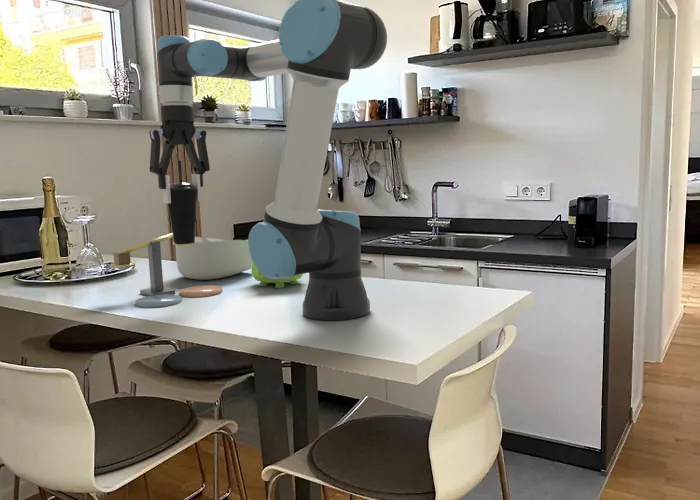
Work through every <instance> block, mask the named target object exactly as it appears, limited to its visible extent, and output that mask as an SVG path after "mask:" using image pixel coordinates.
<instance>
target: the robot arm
mask: <svg viewBox="0 0 700 500" xmlns="http://www.w3.org/2000/svg"><path fill="white" fill-rule="evenodd" d="M156 43H157V52H156V56H157V68H158V83H159V100H160V104H162V106H161V107H160V118H161V127H160V128H159V129H152V130H149V133H148V134H149V136H150V141H151V142H150V154H149V173H152V174H155V175H157V179H158V180H157V181H158V188H159V190H162V203H163V204H168V203H171V194H170V185H171V180H170V179H171V177H170V175H167V172H168V169H169V166H170V162H171V158H172V155H173V152H174V149H175V148H176V146H177V145H178V146H179V145H180V146H182V147H183V148H184V150H185V152H186V155H187V158H188V159H189V162H190V164H191V167H192V169H193V172H194V173H191V184H193V185H194V186H197V189H196V202H201V201H202V195H201V193H202V192H201V188H203V186H204V174H205V173H206V172H209V171H210V170H211V167H210V160H209V156H208V150H207V142H206V139H207V130H205V129H204V130H201V129H200V130H199V129H196V127H195V111H194V109H195V108H194V107H193V104H194V94H193V93H194V92H193V78H196V77H206V78H207V77H209V78H217V79H218V78H220V79H234V80H242V81H248V82H261V81H265V80H266V78H267V77H271V76H272V77H273V76H278V75H285V74H286V75H287V74H290V76H291V77H292V80H293V82H292V87H291V88H292V89H291V95H290V101H289V107H288V113H287V120H286V125H285V126H286V127H285V133H284V140H283V145H282V151H281V158H280V164H279V168H278V169H279V171H278V177H277V182H276V183H277V184H276V188H275V196H274V201H272V202H271V203H269V204H268V205H266V206H265V209H264V215H263V221H260V222H258V223H256V224H254V226H253V227H252V228H251V229H250V231H249V234H248V239H247V240H248V246H249V252H250V255H251V258H252V260H253V262H254V264H255V266H256V267H257V269H258V270H259V271H260V272H261V273H262V274H263V275H265V276H267V277H269V278H272V279H279V278H291V277H292V276H295V275H300V274H303V275H304V274H308V275H309V278H308V283H307V287H306V292H305V294H304V296H305V297H304V300H303V301H302V315H303V316H304V317H306V318H309V319H313V320H320V321H345V320H353V319H358V318H361V317H365V316H367V315H368V314H369V313H371V312H370V311H371V303H370V302H371V301H370V299H369V297H368V295H367V290H366V287H365V285H364V282H363V278H362V257H361V256H362V255H361V254H362V252H361V251H362V248H361V247H362V245H361V231H362V229H361V225H360V224H361V223H360V217H359V215H358V214H357V213H356V212H354V211H348V210H330V209H318V203H319V198H320V193H321V187H322V184H323V183H322V181H323V177H324V176H323V175H324V172H325V166H326V162H327V153H328V150H329V144H330V138H331V132H332V128H333V122H334V116H335V111H336V110H335V109H336V106H337V101H338V95H339V90H340V88H341V87H343V86H344V85H345V84H346V83H348V82H349V80H350V76H351V75H350V74H351V70H363V69H367V68H371V67H372V66H374V65H375V64H377V63H378V61H379V60H380V59H381V58H382V57H383V55H384V53H385V50H386V48H387V43H388V33H387V28H386V25H385V23H384V21H383V19H382V18H381V17H380V16H379V14H378V13H377V12H376V11H375V10H372V9H371V8H369V7H366V6H363V5H357V4H354V3H350V2H346V1H343V0H295V1H294V2H293V4H291V5H289V7H288V8H287V10H286V11H285V12H284V14H283V16H282V19H281V21H280V25H279V31H278V39H274V40H269V41H265V42H260V43H257V44H251V45H246V46H237V45H231V44H225V43H224V44H223V43H221V42H220V41H218V40H217V39H214V38H207V39H206V38H200V39H198V40H195V41H191V40H190V39H189V38H188V37H186V36H183V35H173V34H172V35H170V34H169V35H162V36H160V37H159V38H158V39H157V42H156ZM162 135H163V136H162ZM162 137H164V138H165V142H164V145H163V152H162V154H161V145H162V143H161V142H162V140H161V139H162ZM193 138H195V139H196V147H197V152H196V148H195V143H194V141H193ZM160 155H161V156H160Z"/></svg>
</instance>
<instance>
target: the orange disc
mask: <svg viewBox="0 0 700 500" xmlns="http://www.w3.org/2000/svg"><path fill="white" fill-rule="evenodd" d="M221 293H223V287H222V286H220V285H219V286H218V285H212V284H211V285H207V284H206V285H194V286H190V287H189V286H188V287H184V288H182V289H180V290H179V296H181V297H185V298H186V297H187V298H205V297H209V296H210V297H211V296H216V295H219V294H221Z"/></svg>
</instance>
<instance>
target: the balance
mask: <svg viewBox="0 0 700 500" xmlns="http://www.w3.org/2000/svg"><path fill="white" fill-rule="evenodd" d="M169 239H174V238H173V232H171V233H169V234H166V235H162V236H159V237H156V238H153V239H151V240H148V241H145V242H142V243H140V244H139V243H138V244H137V245H133V246H130V247H128V248H125V249H121V250H120V251H115V252H114V251H113V263H111V264H110V265H109V267H110V269H125V268H126V269H127V268H132V267H133V268H134V267H135V266H136V262H134V261H131V253H132V252H135V251H138V250H141V249H143V248H146V247H147V254H148V267H149V270H148V271H149V280H150V281H149V282H150V287H149V288H145V289H140V290H139V293H140V294H141V295H144V296H145V297H147V296H153V295H164V294H172V295H176V290H174V289H171V288H168V287H164V278H163V264H162V263H163V261H162V251H161V250H162V248H161V242H164V241H167V240H169ZM195 243H196V241H195V242H194V243H190V244H195ZM190 244H175V243H174V241H173V242H172V245H173V246H175V245H190Z"/></svg>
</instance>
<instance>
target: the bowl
mask: <svg viewBox="0 0 700 500" xmlns="http://www.w3.org/2000/svg"><path fill="white" fill-rule="evenodd" d="M205 240H207V241H205V242H204V241H203V238H202V236H201V237H200V236H195V241H196V243H195V244H190V245H174V246H175V259H176V260H175V261H176V267H177V269H178V270H177V271H178V272H179V274H180V275H181V276H183V277H185V278H186V279H187V278H188V279H192V280H198V281H199V280H201V281H203V280H204V281H206V280H207V281H209V280H218V279H219V280H220V279H224V278H228V277H230V276H235V275H239V274H240V273H243V272H246V271H249V270H252V260H251V255H250V252H249V246H248V242H247V241H246V240H247V239H244V240H243V239H230V240H229V239H228V240H227V239H226V240H225V239H221V238H213V237H206V238H205Z"/></svg>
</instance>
